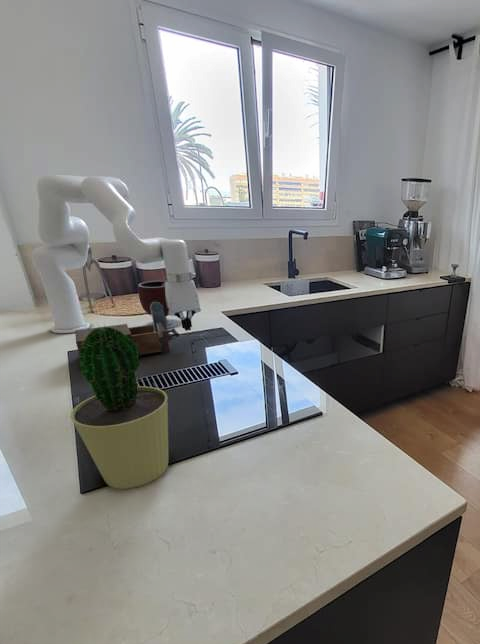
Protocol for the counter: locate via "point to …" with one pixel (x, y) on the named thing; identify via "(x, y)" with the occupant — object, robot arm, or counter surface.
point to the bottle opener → (158, 316)
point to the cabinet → (84, 332)
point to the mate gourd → (155, 299)
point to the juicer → (88, 265)
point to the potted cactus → (121, 413)
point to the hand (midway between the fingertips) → (187, 329)
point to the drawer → (151, 338)
